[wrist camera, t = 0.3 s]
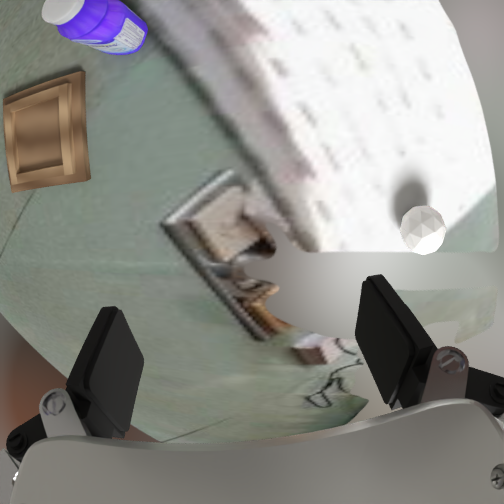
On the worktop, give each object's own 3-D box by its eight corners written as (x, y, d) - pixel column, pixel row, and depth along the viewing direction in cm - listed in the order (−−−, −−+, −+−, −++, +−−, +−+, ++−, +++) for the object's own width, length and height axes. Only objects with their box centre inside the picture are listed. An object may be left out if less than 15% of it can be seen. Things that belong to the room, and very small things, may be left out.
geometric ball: (393, 219, 45) (387, 234, 40) (425, 190, 40) (425, 201, 34) (420, 252, 45) (417, 272, 39) (453, 225, 39) (456, 242, 33)
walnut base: (8, 98, 27) (-2, 99, 25) (85, 72, 29) (76, 70, 26) (16, 190, 35) (7, 195, 32) (90, 178, 36) (82, 183, 34)
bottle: (96, 54, 28) (21, 34, 12) (108, 19, 25) (42, -19, 10) (142, 58, 29) (82, 28, 14) (155, 21, 27) (107, -29, 11)
